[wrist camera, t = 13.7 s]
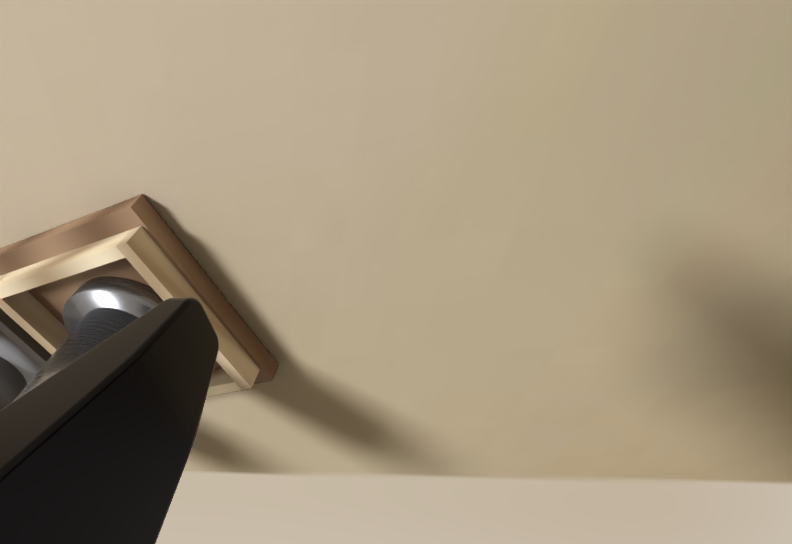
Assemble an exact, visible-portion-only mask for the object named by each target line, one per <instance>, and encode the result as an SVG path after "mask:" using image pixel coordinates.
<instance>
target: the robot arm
mask: <svg viewBox="0 0 792 544" xmlns="http://www.w3.org/2000/svg"><path fill="white" fill-rule="evenodd" d="M218 350H219V341H218V336H217V334H216V332H215V330H214V328H213V326H212V324H211V322H210V320H209V318H208V316H207V314H206V312H205V310H204V308H203V306H202V304H201V303H200V301H198V300H197V299H196V298H193V297H174V298H169V299H166V300H165V301H163V302H162V303H160V304H159V305H157V306H156V307H154V308H153V309H151V310H150V311H148V312H147V313H145V314H144V315H142V316H141V317H139V318H138V319H136V320H135V321H133V322H132V323H130V324H129V325H127V326H126V327H124V328H123V329H121V330H120V331H118V332H117V333H115V334H114V335H112V336H111V337H109V338H108V339H106V340H105V341H103V342H102V343H100V344H99V345H97V346H96V347H94V348H93V349H91V350H90V351H88V352H87V353H85V354H84V355H82V356H81V357H80V358H78V359H77V360H75V361H74V362H72V363H71V364H69V365H68V366H66V367H65V368H63V369H62V370H60V371H59V372H57V373H56V374H54V375H53V376H51V377H50V378H48V379H47V380H45V381H44V382H42V383H41V384H39V385H38V386H36V387H35V388H33V389H32V390H30V391H29V392H27V393H26V394H24V395H23V396H21V397H20V398H18V399H17V400H15V401H14V402H12V403H11V404H9V405H8V406H6V407H5V408H3V409H2V410H0V544H155V543H156V540H157V538H158V535H159V532H160V530H161V527H162V525H163V521H164V519H165V517H166V514H167V512H168V509H169V506H170V504H171V501H172V498H173V496H174V493H175V490H176V488H177V485H178V483H179V480H180V477H181V475H182V472H183V470H184V467H185V465H186V462H187V459H188V457H189V454H190V451H191V448H192V445H193V442H194V439H195V436H196V433H197V429H198V426H199V422H200V418H201V415H202V411H203V407H204V403H205V400H206V396H207V392H208V388H209V385H210V381H211V377H212V373H213V370H214V366H215V362H216V358H217V355H218Z"/></svg>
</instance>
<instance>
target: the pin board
mask: <svg viewBox="0 0 792 544" xmlns="http://www.w3.org/2000/svg"><path fill="white" fill-rule="evenodd" d="M107 276H110V277H119V278H125V279H129V280H132V281H135V282H138V283H141V284H143V285H145V286H147V287H149V288H151V289H153V290H154V291H155V292H156V293H157V294H158V295H159V296H160V298H161V299H162V300H163V301H165V300H166V299H169V298H174V297H193V298H196V299H197V300H198V301H200V303H201V304H202V306H203V308H204V310H205V312H206V314H207V316H208V318H209V320H210V322H211V324H212V326H213V328H214V330H215V332H216V334H217V336H218V341H219V350H218V355H217V358H216V362H215V366H214V370H213V373H212V377H211V381H210V385H209V388H208V392H207V396H206V397H208V396H213V395H218V394H223V393H229V392H234V391H239V390H244V389H250V388H252V386H253V384H256V383H261V382H266V381H271V380H273V378H274V376H275V373H276V371H277V368H278V366H279V365H278V364H277V363H276V361H275V360H274V359H273V358H272V356H271V355H270V354H269V352H268V351H267V350H266V349H265V347H264V346H263V345H262V344H261V342H260V341H259V340H258V339H257V337H256V336H255V335H254V334H253V332H252V331H251V330H250V329H249V327H248V326H247V325H246V324H245V322H244V321H243V320H242V319H241V317H240V316H239V315H238V314H237V312H236V311H235V310H234V308H233V307H232V306H231V305H230V303H229V302H228V301H227V300H226V298H225V297H224V296H223V295H222V293H221V292H220V291H219V290H218V288H217V287H216V286H215V285H214V283H213V282H212V281H211V280H210V278H209V277H208V276H207V275H206V273H205V272H204V271H203V270H202V268H201V267H200V266H199V264H198V263H197V262H196V261H195V259H194V258H193V257H192V256H191V254H190V253H189V252H188V251H187V249H186V248H185V247H184V246H183V244H182V243H181V242H180V241H179V239H178V238H177V237H176V236H175V234H174V233H173V232H172V231H171V229H170V228H169V227H168V225H167V224H166V223H165V222H164V220H163V219H162V218H161V217H160V215H159V214H158V213H157V212H156V210H155V209H154V208H153V207H152V205H151V204H150V203H149V202H148V200H147V199H146V198H145V197H144V195H143V194H142V195H139V196H137V197H134V198H131V199H129V200H126V201H123V202H121V203H118V204H116V205H113V206H110V207H108V208H105V209H103V210H100V211H97V212H95V213H92V214H90V215H87V216H84V217H82V218H79V219H77V220H74V221H71V222H69V223H66V224H63V225H61V226H58V227H56V228H53V229H50V230H48V231H45V232H43V233H40V234H37V235H35V236H32V237H30V238H27V239H24V240H22V241H19V242H17V243H14V244H11V245H9V246H6V247H4V248H1V249H0V410H2V409H3V408H5V407H6V406H8V405H9V404H11V403H12V402H13V401H14V399H15V398H16V397H17V396H18V395H19V393H20V392H21V391H22V390H23V389H24V388H25V386H26V385H27V384H28V383H29V382H30V380H31V379H32V378H33V377H34V376H35V374H36V373H37V372H38V371H39V370H40V369H41V367H42V366H43V365H44V364H45V363H46V361H47V360H48V359H49V358H50V357H51V356H52V354H53V353H54V352H55V351H56V350H57V348H58V347H59V346H60V345H61V344H62V342H63V341H64V340H65V339H66V338H67V337H68V335H69V333H68V331H67V329H66V327H65V325H64V321H63V308H64V305H65V303H66V302H67V300H68V299H69V298H70V297H71V296H72V295H73V294H74V293H75V292H76V290H77V289H78V288H79V287H80V286H81V285H82V284H83V283H85V282H86V281H88V280H90V279H93V278H97V277H107Z"/></svg>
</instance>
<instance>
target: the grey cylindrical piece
mask: <svg viewBox="0 0 792 544" xmlns="http://www.w3.org/2000/svg"><path fill="white" fill-rule="evenodd" d="M162 302H163V300H162V299H161V298H160V296H159V295H158V294H157V293H156V292H155V291H154V290H153V289H151V288H149V287H147V286H145V285H143V284H141V283H138V282H135V281H132V280H129V279H125V278H119V277H110V276H107V277H97V278H93V279H90V280H88V281H86V282H85V283H83V284H82V285H81V286H80V287H79V288H78V289H77V290H76V292H75V293H74V294H73V295H72V296H71V297H70V298H69V299H68V300H67V302H66V303H65V305H64V308H63V321H64V325H65V327H66V329H67V331H68V333H69V335H68V337H67V338H66V339H65V340H64V341H63V342H62V344H61V345H60V346H59V347H58V348H57V350H56V351H55V352H54V353H53V354H52V356H51V357H50V358H49V359H48V360H47V361H46V363H45V364H44V365H43V366H42V367H41V369H40V370H39V371H38V372H37V373H36V374H35V376H34V377H33V378H32V379H31V380H30V382H29V383H28V384H27V385H26V386H25V388H24V389H23V390H22V391H21V392H20V393H19V395H18V396H17V397H16V398H15V399H14V401H15V400H17V399H18V398H20V397H21V396H23V395H24V394H26V393H27V392H29V391H30V390H32V389H33V388H35V387H36V386H38V385H39V384H41V383H42V382H44V381H45V380H47V379H48V378H50V377H51V376H53V375H54V374H56V373H57V372H59V371H60V370H62V369H63V368H65V367H66V366H68V365H69V364H71V363H72V362H74V361H75V360H77V359H78V358H80V357H81V356H82V355H84V354H85V353H87V352H88V351H90V350H91V349H93V348H94V347H96V346H97V345H99V344H100V343H102V342H103V341H105V340H106V339H108V338H109V337H111V336H112V335H114V334H115V333H117V332H118V331H120V330H121V329H123V328H124V327H126V326H127V325H129V324H130V323H132V322H133V321H135V320H136V319H138V318H139V317H141V316H142V315H144V314H145V313H147V312H148V311H150V310H151V309H153V308H154V307H156V306H157V305H159V304H160V303H162ZM14 401H13V402H14Z"/></svg>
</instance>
